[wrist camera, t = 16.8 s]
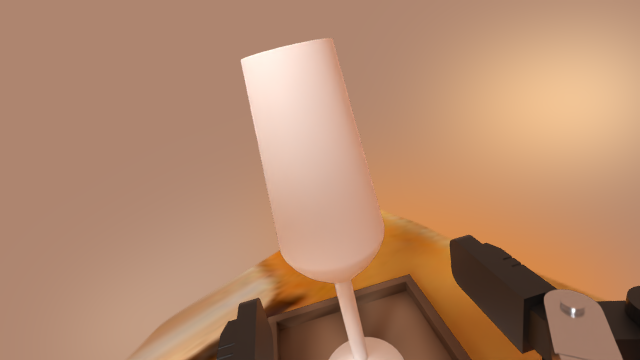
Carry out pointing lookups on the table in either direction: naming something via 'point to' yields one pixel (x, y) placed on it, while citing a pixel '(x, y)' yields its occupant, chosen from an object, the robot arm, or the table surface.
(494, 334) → the table surface
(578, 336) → the robot arm
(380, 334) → the tray
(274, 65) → the champagne flute
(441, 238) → the table surface
